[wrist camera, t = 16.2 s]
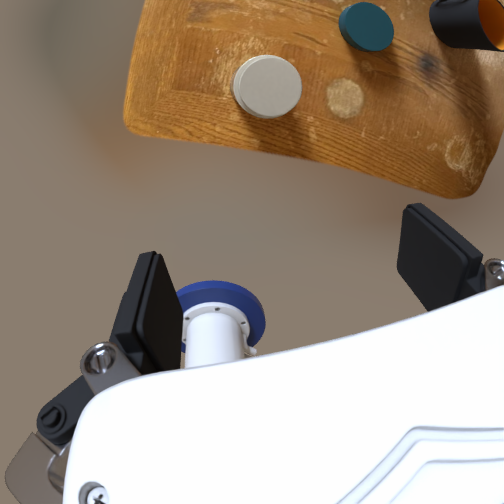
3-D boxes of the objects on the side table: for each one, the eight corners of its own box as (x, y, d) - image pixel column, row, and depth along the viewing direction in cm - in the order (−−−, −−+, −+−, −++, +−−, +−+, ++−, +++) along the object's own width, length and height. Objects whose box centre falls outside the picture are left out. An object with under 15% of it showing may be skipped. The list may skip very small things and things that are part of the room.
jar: (292, 75, 31) (318, 74, 23) (269, 119, 34) (286, 132, 26) (244, 52, 29) (254, 41, 21) (220, 98, 32) (222, 103, 24)
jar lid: (336, 1, 26) (343, -3, 24) (383, 9, 26) (391, 7, 25) (340, 48, 30) (346, 47, 28) (386, 54, 30) (395, 54, 28)
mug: (428, -27, 22) (473, -38, 13) (473, 32, 27) (519, 35, 18) (403, -5, 25) (449, -17, 16) (451, 57, 30) (500, 63, 21)
